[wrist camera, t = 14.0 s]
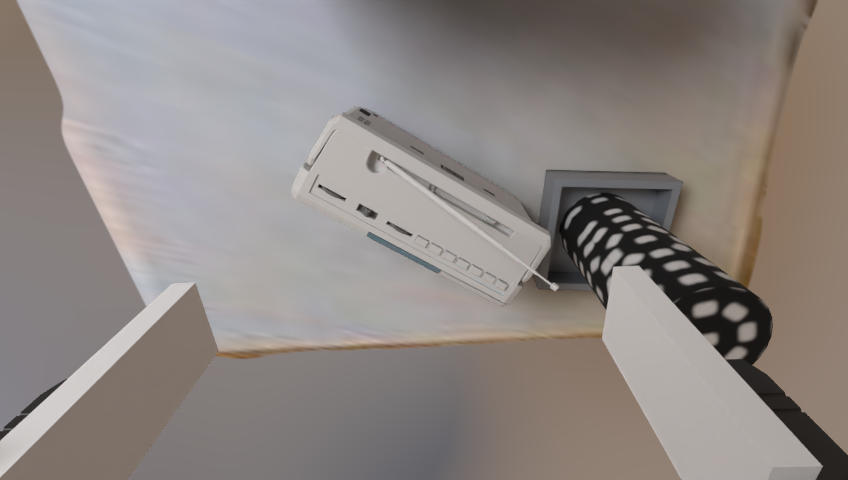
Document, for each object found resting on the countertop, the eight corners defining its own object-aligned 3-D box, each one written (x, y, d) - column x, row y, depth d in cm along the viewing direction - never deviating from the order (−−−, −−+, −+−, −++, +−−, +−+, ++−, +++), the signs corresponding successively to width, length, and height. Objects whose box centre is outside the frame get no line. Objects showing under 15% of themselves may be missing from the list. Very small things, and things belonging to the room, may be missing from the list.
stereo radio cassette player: (323, 162, 45) (247, 235, 26) (357, 92, 42) (299, 118, 23) (486, 252, 48) (519, 370, 30) (528, 194, 46) (593, 285, 27)
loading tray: (546, 169, 44) (555, 178, 41) (665, 172, 44) (683, 181, 41) (531, 274, 49) (538, 289, 46) (637, 277, 49) (652, 292, 46)
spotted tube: (632, 183, 44) (775, 272, 26) (639, 251, 47) (770, 374, 29) (553, 204, 45) (636, 303, 27) (565, 269, 48) (646, 399, 30)
